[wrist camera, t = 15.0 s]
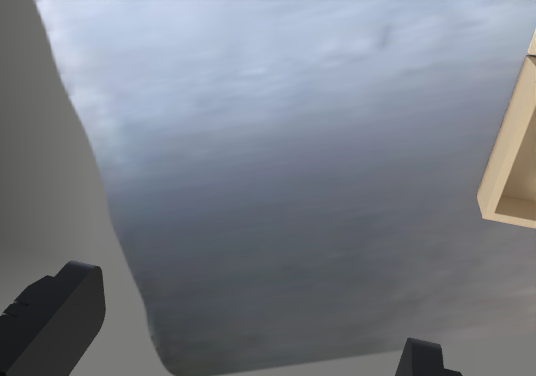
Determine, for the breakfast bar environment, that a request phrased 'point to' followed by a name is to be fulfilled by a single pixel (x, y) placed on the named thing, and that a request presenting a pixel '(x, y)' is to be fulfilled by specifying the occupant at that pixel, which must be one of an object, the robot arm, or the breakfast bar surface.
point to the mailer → (514, 156)
